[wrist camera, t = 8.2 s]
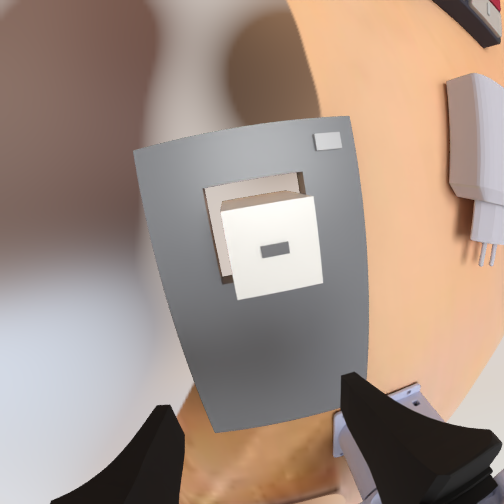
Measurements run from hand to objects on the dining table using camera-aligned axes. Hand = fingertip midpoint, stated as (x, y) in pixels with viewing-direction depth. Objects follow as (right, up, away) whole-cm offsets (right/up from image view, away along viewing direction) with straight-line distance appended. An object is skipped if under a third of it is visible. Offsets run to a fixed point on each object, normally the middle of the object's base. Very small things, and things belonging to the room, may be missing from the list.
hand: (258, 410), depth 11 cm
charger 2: (+20, +13, +9) cm, 25 cm away
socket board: (+1, +3, +9) cm, 10 cm away
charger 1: (0, +8, +8) cm, 11 cm away
